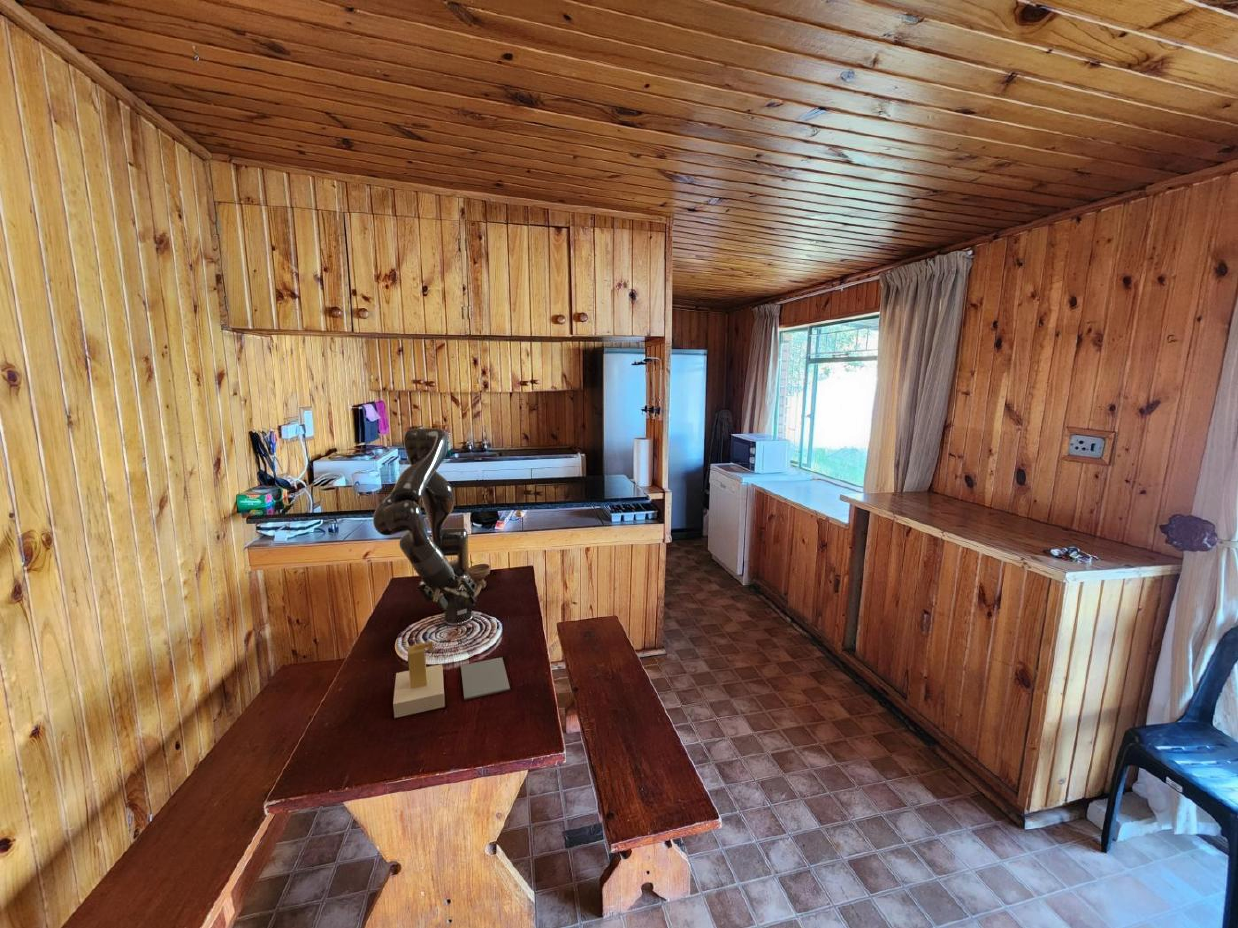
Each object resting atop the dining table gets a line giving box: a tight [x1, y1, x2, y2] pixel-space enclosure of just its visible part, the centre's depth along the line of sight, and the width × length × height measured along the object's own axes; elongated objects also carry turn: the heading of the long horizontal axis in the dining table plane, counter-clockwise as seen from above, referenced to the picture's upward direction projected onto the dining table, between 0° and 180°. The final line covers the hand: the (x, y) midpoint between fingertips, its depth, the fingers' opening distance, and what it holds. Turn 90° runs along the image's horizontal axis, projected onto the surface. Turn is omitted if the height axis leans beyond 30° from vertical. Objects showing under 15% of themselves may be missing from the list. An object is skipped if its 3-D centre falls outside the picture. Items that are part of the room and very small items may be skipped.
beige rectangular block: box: [392, 663, 446, 719], centre depth 135 cm, size 14×12×4 cm
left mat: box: [460, 657, 511, 701], centre depth 143 cm, size 16×12×1 cm
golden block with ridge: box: [407, 640, 434, 689], centre depth 134 cm, size 4×6×11 cm, turn 110°
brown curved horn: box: [440, 563, 491, 597], centre depth 197 cm, size 24×9×19 cm
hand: (459, 604), depth 137 cm, fingers open, 8 cm apart
